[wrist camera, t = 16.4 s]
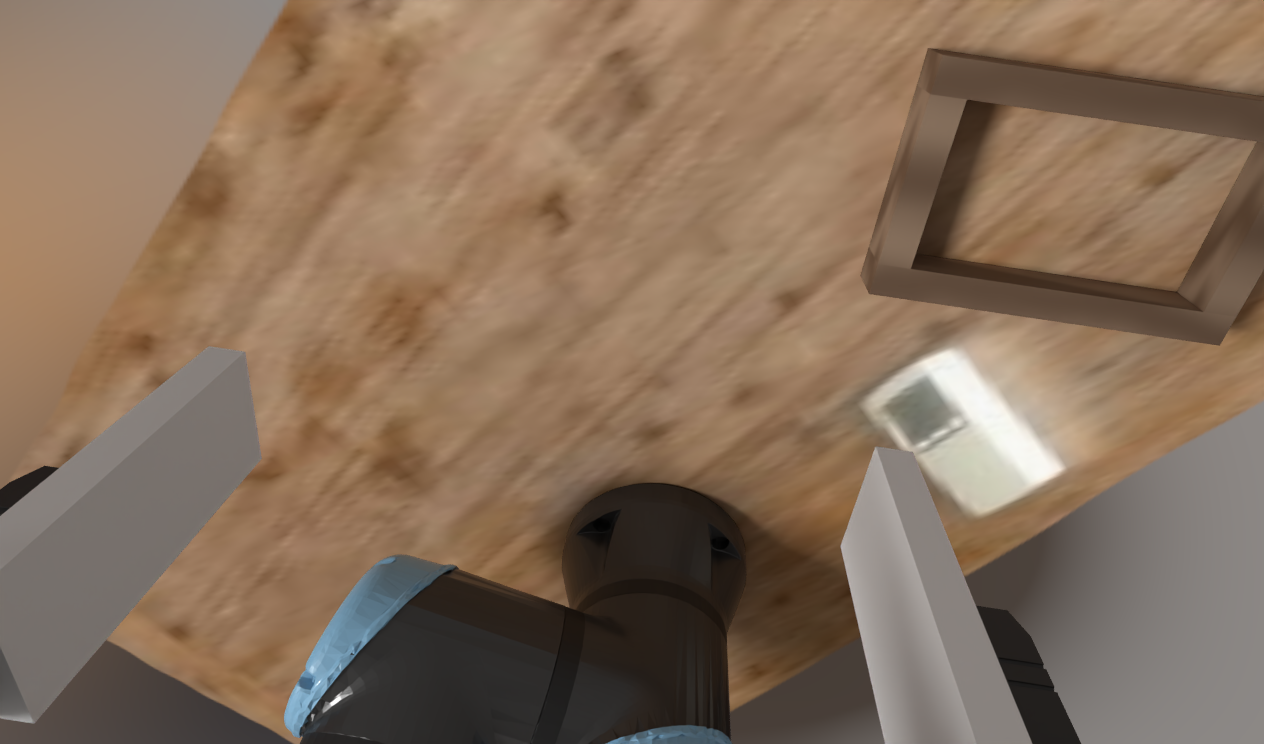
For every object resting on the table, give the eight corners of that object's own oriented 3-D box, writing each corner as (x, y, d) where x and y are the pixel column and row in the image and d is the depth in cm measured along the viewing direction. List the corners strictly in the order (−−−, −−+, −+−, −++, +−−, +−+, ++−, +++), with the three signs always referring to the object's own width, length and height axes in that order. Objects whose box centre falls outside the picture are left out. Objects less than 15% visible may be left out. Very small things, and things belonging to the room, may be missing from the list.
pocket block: (1192, 324, 50) (1219, 345, 47) (860, 275, 50) (869, 293, 47) (1315, 103, 42) (1355, 114, 40) (928, 48, 43) (942, 55, 40)
